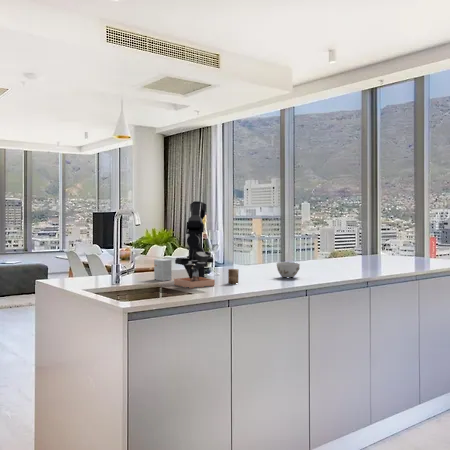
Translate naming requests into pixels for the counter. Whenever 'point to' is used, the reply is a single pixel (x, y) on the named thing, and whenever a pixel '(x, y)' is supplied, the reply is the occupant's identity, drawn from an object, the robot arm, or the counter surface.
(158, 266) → the small box
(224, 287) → the counter surface
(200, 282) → the shallow square tray
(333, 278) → the counter surface
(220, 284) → the counter surface
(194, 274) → the steel peg
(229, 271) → the walnut knob
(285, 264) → the teacup
